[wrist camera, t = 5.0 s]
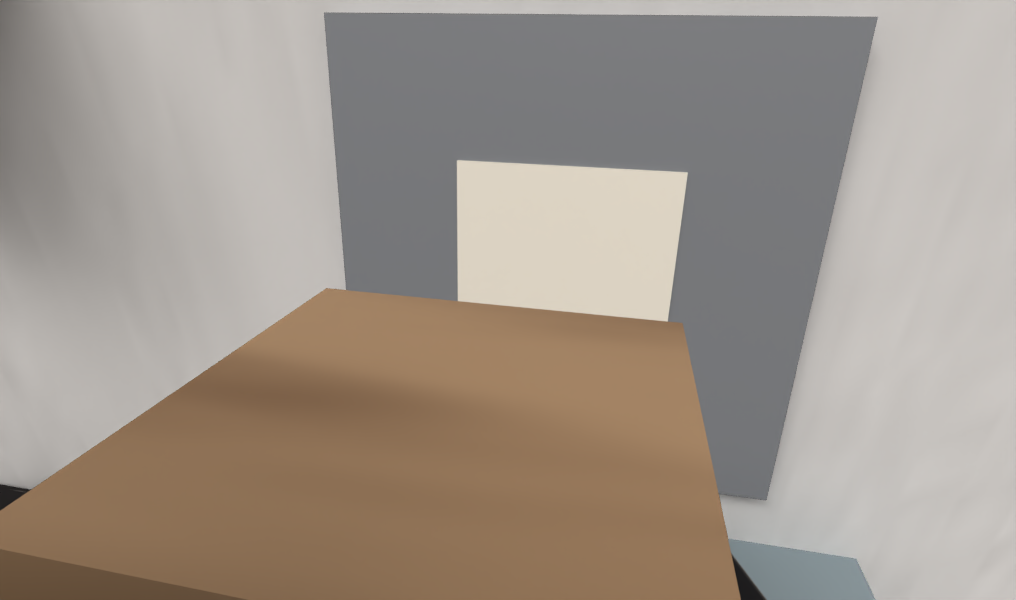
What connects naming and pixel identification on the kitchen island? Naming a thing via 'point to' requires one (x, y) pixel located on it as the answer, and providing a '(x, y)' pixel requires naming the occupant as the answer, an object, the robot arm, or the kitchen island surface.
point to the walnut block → (397, 468)
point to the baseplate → (607, 180)
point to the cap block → (800, 573)
